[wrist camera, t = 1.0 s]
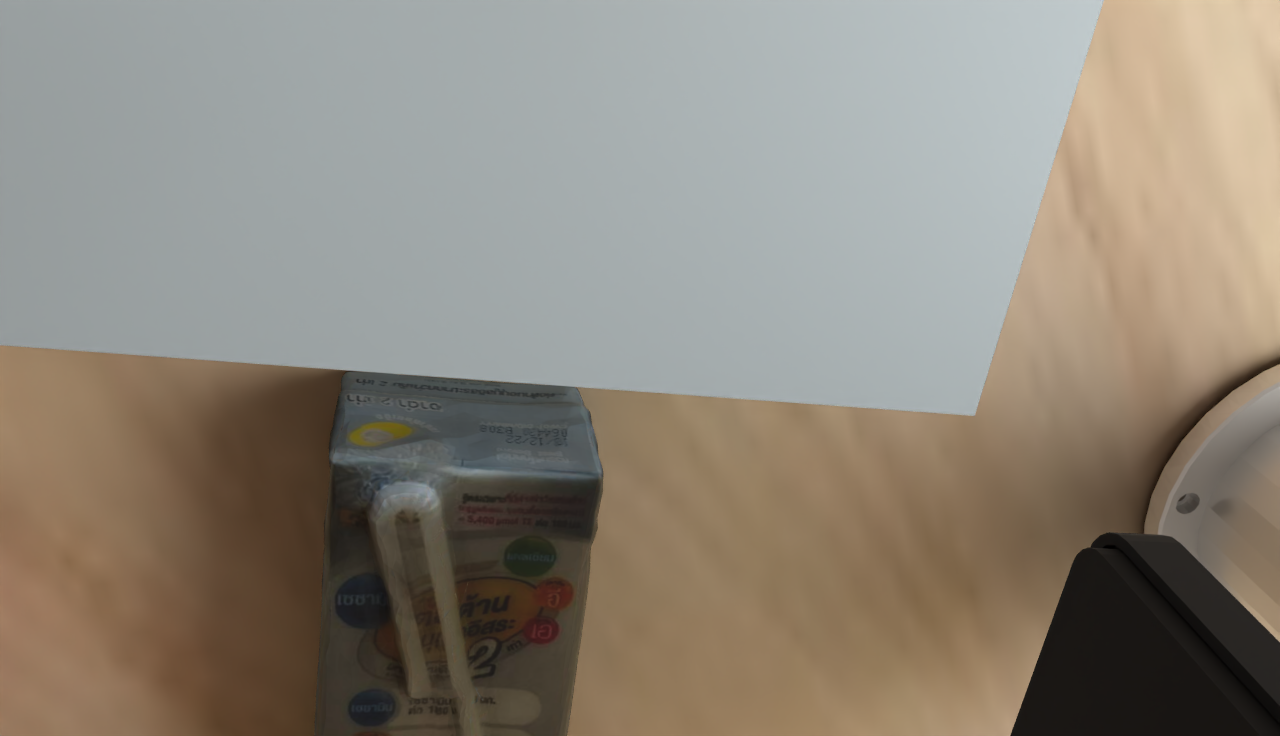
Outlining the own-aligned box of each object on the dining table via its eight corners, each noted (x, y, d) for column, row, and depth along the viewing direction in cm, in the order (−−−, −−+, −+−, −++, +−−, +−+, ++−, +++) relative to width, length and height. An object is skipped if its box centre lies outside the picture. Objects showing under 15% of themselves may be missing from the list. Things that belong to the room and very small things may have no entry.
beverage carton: (596, 377, 36) (622, 486, 30) (530, 814, 44) (540, 968, 38) (340, 358, 34) (314, 468, 28) (320, 815, 42) (297, 975, 36)
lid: (1137, -161, 23) (1315, -158, 18) (964, 405, 28) (1066, 522, 23) (-172, -405, 18) (-397, -488, 13) (-80, 326, 24) (-216, 453, 19)
